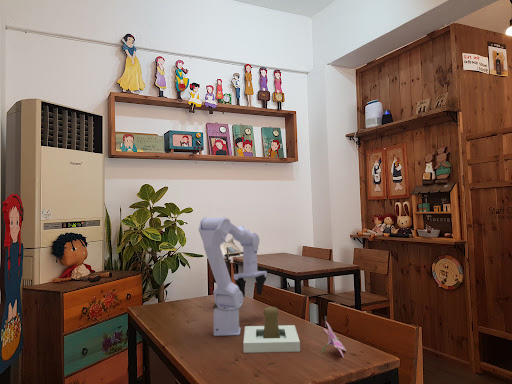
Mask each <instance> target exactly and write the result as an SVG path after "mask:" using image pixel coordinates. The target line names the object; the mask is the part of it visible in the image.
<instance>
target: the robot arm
mask: <svg viewBox="0 0 512 384" xmlns="http://www.w3.org/2000/svg"><path fill="white" fill-rule="evenodd" d="M198 232H199V235H200V239H201V241H202V244H203V250H204V251H205V255H206V258H207V260H208V264H209V266H210V269H211V272H212V275H213V277H214V278H213V279H214V280H215V283H216V287H214V290H213V296H214V305H215V304H216V305H217V306H218V308H216V309H213V326H212V327H213V336H214V337H215V336H217V337H218V336H219V337H220V336H240V335H241V327H240V313H239V312H240V311H239V310H240V308H241V307H242V305H243V304H244V298H245V297H246V282H247V281H246V280H245V279H251V278H255V282H256V294H257V295H262V291H263V289H264V288H263V287H264V284H265V283H266V281H267V276H268V272H267V270H261V271H260V270H259V271H258V250H259V245H260V237H259V234H257V233H256V232H251V231H250V230H249V229H246V228H245V226H243V225H239V226H236V225H235V224H234V223H232V222H231V220H230V219H229V218H227V217H226V216H222V217H203V218H202V219H200V223H199V226H198ZM228 234H229V235H231V236H232V237H233V240H235V241H237V242H239V243H240V246H241V247H242V252H243V254H242V258H243V264H242V265H243V272H240V273H233V280H234V281H235V283H234V282H232V278H231V276H230V273H229V268H228V269H227V266H226V263H225V260H224V257H223V254H222V251H221V248H220V244H222V243H224V241H226V239H227V236H228Z"/></svg>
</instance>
